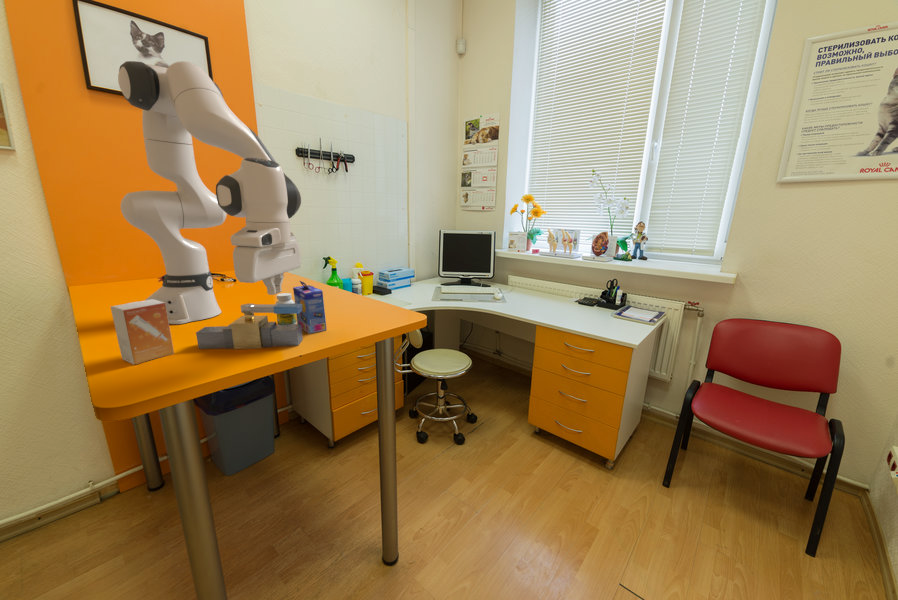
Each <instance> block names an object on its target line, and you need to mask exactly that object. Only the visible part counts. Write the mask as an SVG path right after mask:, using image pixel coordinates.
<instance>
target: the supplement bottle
mask: <svg viewBox="0 0 898 600" xmlns="http://www.w3.org/2000/svg"><path fill="white" fill-rule="evenodd" d="M276 299H277V301H276V302H275V304H295V300H293V299H292V293H290V292H283V293H281V292H280V293H277V294H276ZM276 320H277V321H276V324H277V325H297V316H296V314H276Z"/></svg>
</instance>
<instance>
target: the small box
mask: <svg viewBox="0 0 898 600" xmlns="http://www.w3.org/2000/svg"><path fill="white" fill-rule="evenodd" d="M110 310H111V314H112V315H111V316H112V319H113V323H114V328H115V333H116V338H117V342H118V347H119V350H120V351H119V352H120V355H121V358H122V360H123V361H125V362H128V363H130V364H132V365H134V366H135V364H136V365H139V364H141V363H144V362H149V361H152V360H155V359H158V358H162V357H167V356H169V355H170V356H171V355H173V354H174V353H175V350H174V344H173V340H172V339H173V338H172V334H171V327H170V324H169V322H168V316H167V311H166V305H165V302H161V301H158V300H154V299H150V300H146V299H145V300H141V301H133V302H127V303H124V304H118V305H113V306H112V305H111V306H110Z"/></svg>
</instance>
